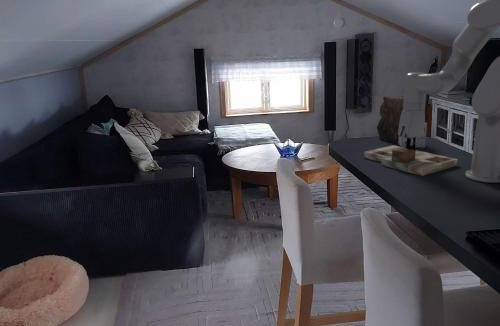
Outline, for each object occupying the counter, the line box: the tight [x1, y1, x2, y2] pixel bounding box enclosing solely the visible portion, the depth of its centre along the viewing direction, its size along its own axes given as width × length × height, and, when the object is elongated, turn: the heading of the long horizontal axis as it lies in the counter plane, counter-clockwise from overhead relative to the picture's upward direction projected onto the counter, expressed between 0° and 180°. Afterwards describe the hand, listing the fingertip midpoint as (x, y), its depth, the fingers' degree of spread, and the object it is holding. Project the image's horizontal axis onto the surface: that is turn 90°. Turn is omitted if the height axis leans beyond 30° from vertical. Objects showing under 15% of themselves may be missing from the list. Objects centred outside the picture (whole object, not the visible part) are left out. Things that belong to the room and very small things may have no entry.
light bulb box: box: [397, 121, 428, 148], centre depth 194 cm, size 11×7×11 cm, turn 84°
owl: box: [376, 96, 404, 143], centre depth 207 cm, size 13×13×20 cm
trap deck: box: [363, 144, 459, 177], centre depth 170 cm, size 29×21×2 cm
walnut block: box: [392, 147, 417, 164], centre depth 163 cm, size 6×6×4 cm
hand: (409, 154), depth 166 cm, fingers closed
